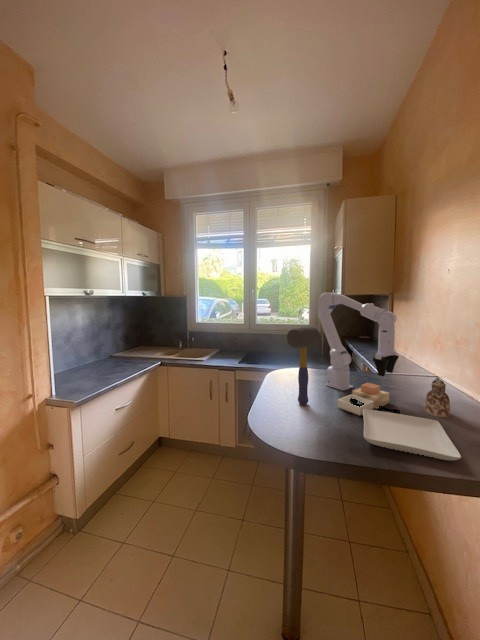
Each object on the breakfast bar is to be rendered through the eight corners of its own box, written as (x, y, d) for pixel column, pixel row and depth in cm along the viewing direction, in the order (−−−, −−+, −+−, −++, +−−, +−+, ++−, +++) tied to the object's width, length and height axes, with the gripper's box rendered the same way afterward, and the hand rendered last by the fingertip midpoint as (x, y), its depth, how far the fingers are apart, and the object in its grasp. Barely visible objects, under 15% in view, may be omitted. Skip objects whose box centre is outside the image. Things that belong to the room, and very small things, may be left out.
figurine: (423, 413, 90) (424, 380, 89) (425, 406, 95) (426, 375, 95) (449, 419, 85) (451, 384, 85) (449, 412, 91) (451, 378, 90)
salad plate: (437, 429, 80) (438, 418, 79) (462, 471, 60) (463, 457, 60) (362, 417, 89) (362, 407, 88) (363, 449, 69) (363, 437, 69)
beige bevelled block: (351, 400, 102) (352, 390, 102) (363, 395, 107) (364, 385, 107) (377, 408, 94) (377, 398, 94) (389, 402, 99) (389, 392, 99)
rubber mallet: (305, 397, 106) (305, 325, 103) (320, 403, 100) (322, 326, 98) (284, 405, 98) (285, 327, 96) (300, 411, 92) (301, 329, 90)
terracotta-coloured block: (360, 391, 101) (361, 385, 101) (367, 388, 104) (367, 382, 104) (373, 394, 97) (373, 388, 97) (380, 392, 100) (380, 385, 100)
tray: (337, 407, 96) (337, 399, 96) (351, 401, 101) (351, 394, 101) (359, 415, 89) (360, 407, 88) (373, 409, 94) (373, 401, 94)
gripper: (389, 344, 97) (388, 379, 97) (404, 340, 105) (403, 372, 106) (370, 342, 102) (369, 375, 103) (386, 338, 111) (385, 369, 112)
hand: (385, 374), depth 105 cm, fingers open, 7 cm apart
